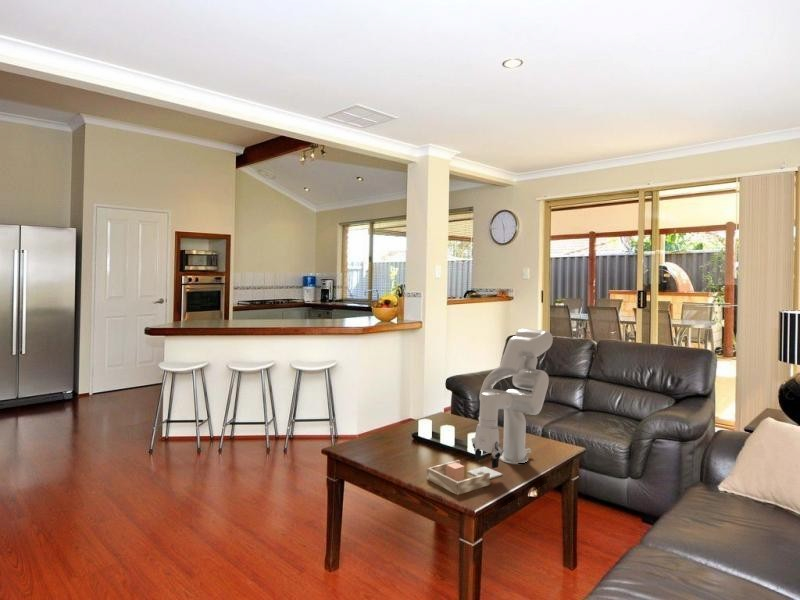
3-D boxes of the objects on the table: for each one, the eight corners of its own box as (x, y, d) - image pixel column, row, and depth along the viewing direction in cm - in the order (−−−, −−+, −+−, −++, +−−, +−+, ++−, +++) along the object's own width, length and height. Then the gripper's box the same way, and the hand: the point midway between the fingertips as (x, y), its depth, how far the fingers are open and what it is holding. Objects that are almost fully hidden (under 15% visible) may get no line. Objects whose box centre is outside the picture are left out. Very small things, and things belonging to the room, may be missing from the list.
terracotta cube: (455, 479, 208) (455, 462, 208) (464, 483, 204) (464, 466, 204) (446, 482, 205) (446, 464, 205) (454, 486, 201) (455, 468, 201)
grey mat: (484, 467, 222) (484, 466, 222) (502, 475, 214) (502, 473, 214) (467, 472, 216) (467, 471, 216) (484, 480, 208) (484, 479, 208)
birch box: (458, 470, 218) (458, 459, 218) (489, 484, 204) (489, 473, 203) (426, 479, 208) (427, 468, 208) (457, 495, 194) (457, 483, 193)
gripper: (467, 419, 219) (465, 459, 219) (497, 428, 205) (495, 472, 205) (479, 417, 224) (477, 456, 224) (510, 426, 210) (508, 468, 210)
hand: (486, 463), depth 215 cm, fingers open, 9 cm apart
